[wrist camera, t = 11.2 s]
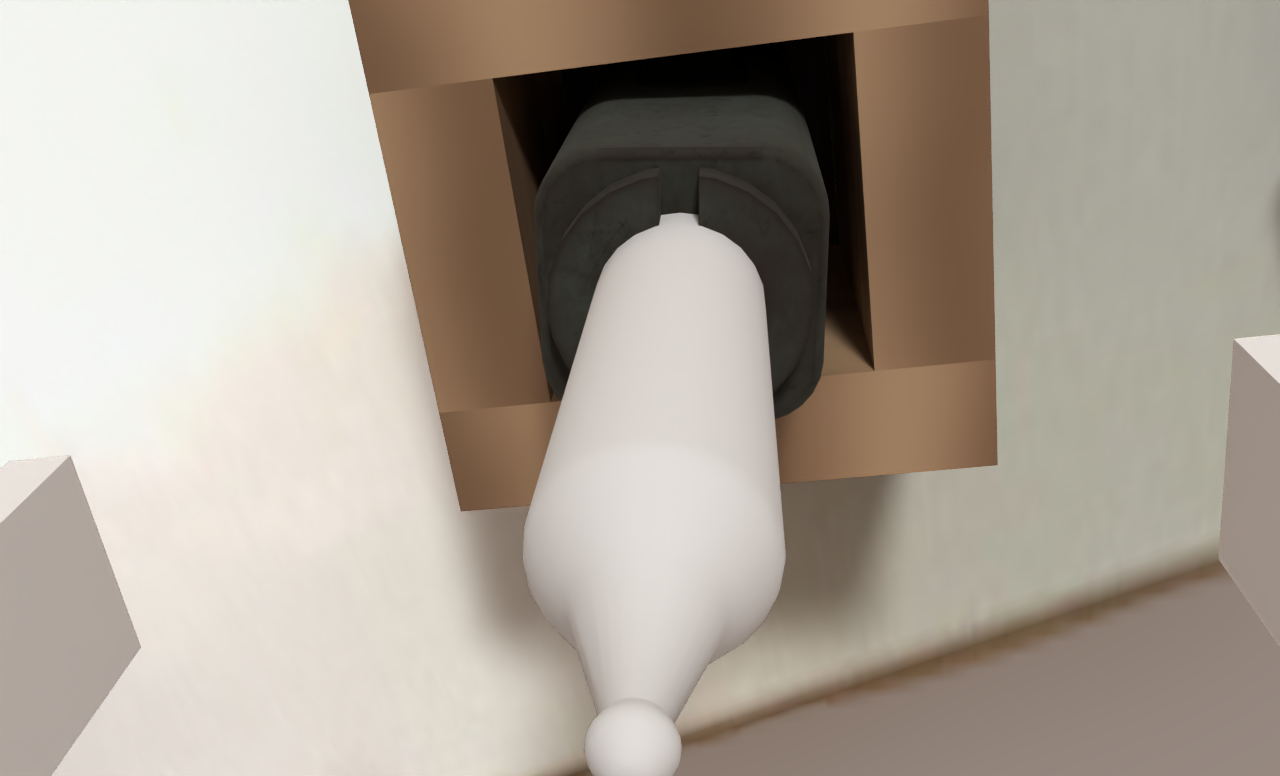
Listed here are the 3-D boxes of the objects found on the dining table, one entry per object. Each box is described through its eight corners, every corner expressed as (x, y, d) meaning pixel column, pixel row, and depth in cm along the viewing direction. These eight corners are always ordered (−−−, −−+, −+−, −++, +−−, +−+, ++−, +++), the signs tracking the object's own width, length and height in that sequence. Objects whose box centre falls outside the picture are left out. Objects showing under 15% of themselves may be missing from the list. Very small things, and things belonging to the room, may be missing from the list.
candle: (795, 37, 32) (963, 520, 9) (789, 226, 34) (915, 1008, 11) (600, 40, 32) (290, 511, 9) (607, 227, 34) (365, 986, 11)
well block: (521, 360, 36) (461, 511, 28) (441, -69, 31) (340, -39, 23) (933, 318, 35) (997, 465, 26) (915, -136, 30) (985, -130, 22)
